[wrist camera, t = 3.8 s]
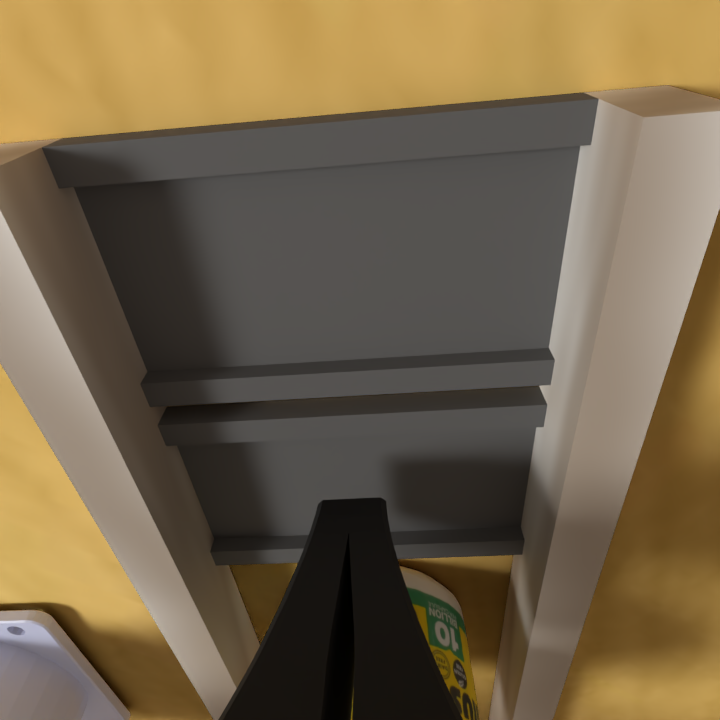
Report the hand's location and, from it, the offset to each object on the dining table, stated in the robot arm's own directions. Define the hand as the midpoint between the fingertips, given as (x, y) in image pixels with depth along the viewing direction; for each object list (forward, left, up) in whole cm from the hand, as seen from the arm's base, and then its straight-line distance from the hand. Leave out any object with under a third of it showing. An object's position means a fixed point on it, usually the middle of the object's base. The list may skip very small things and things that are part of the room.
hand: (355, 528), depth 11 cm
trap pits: (0, +3, -2) cm, 3 cm away
